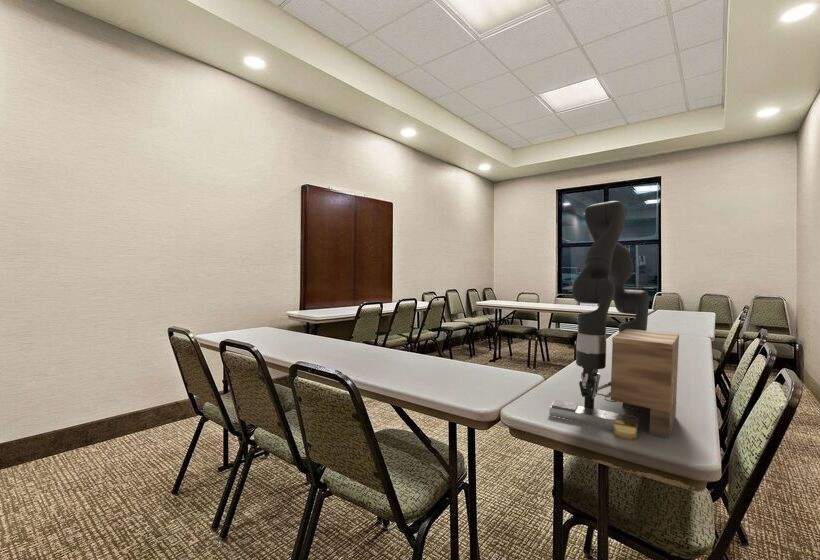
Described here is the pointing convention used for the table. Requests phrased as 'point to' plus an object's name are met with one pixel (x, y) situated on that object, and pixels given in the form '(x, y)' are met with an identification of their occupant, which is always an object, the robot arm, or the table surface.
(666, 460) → the table surface
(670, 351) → the wooden grain block
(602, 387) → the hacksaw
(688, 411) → the table surface
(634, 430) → the puck
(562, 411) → the bar
